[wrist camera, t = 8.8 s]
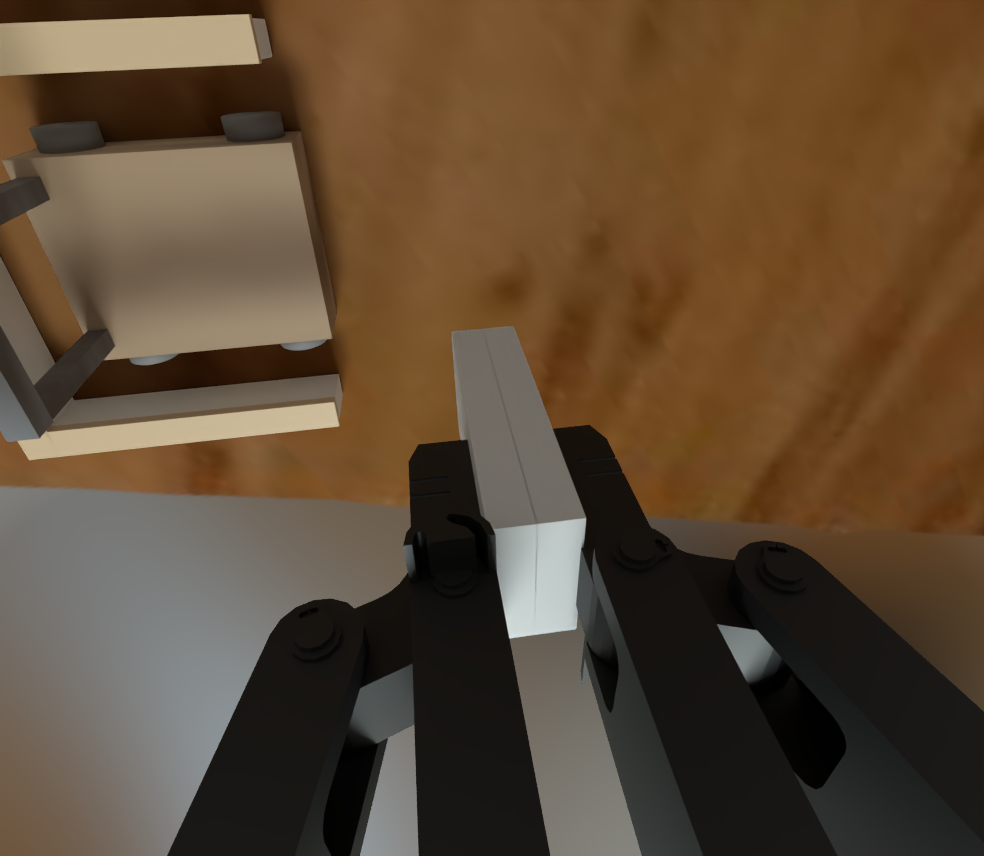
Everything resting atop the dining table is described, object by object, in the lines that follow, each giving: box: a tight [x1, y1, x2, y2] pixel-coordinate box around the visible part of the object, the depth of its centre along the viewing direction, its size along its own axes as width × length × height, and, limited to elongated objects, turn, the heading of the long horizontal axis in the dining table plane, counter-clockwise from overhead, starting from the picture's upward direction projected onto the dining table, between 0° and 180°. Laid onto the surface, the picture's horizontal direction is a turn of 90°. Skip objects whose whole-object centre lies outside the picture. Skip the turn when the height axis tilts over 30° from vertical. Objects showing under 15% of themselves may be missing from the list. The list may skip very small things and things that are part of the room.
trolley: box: [0, 111, 337, 442], centre depth 22 cm, size 10×10×10 cm
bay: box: [0, 14, 343, 460], centre depth 25 cm, size 17×14×3 cm
